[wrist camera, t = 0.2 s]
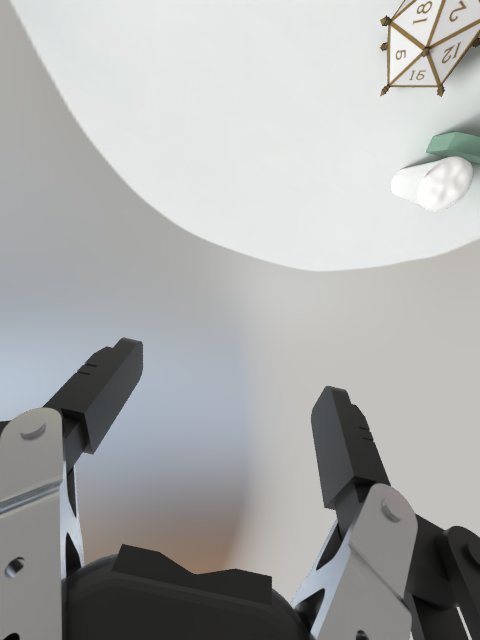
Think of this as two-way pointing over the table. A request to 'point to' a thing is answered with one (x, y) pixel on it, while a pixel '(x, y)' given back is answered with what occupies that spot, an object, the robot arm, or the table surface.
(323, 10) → the table surface
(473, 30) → the game die
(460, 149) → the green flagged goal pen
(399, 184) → the milkshake
